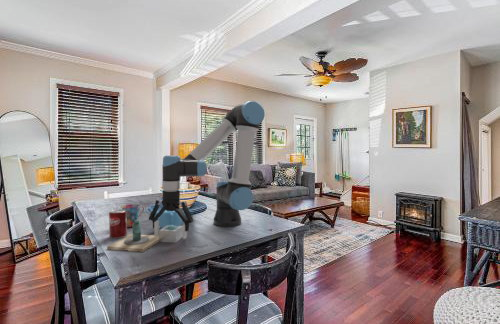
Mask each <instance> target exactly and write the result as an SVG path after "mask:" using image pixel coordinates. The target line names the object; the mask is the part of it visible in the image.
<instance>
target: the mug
mask: <svg viewBox="0 0 500 324" xmlns="http://www.w3.org/2000/svg"><path fill="white" fill-rule="evenodd" d="M141 208H142V210H141V212H140V214H139V211H140V209H141ZM121 209H123V210H126V212H127V228H132V224H134V220H139V223H140V224H141V221H140V218H139V217H140V216H142V214H143V212H144V209H145V207H144V206H142V205H141V204H139V203H134V204H133V203H132V204H131V203H130V204H124V205H122V206H121Z"/></svg>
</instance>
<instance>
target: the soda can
mask: <svg viewBox="0 0 500 324" xmlns="http://www.w3.org/2000/svg"><path fill="white" fill-rule="evenodd" d="M108 222H109V223H108V224H109V225H108V227H109V228H108V229H109V238H111V239H112V240H118V239H119V240H120V239H123V238H125V237H127V236H128V227H127V212H126V210H123V209H122V208H121V209H113V210H111V211H109V212H108Z"/></svg>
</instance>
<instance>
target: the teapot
mask: <svg viewBox="0 0 500 324" xmlns="http://www.w3.org/2000/svg"><path fill="white" fill-rule="evenodd" d="M187 207H188V206H187ZM189 209H190V206H189V207H188V210H189ZM158 212H159V211H157V212H156V214H155V216H156V215H157V214H158ZM183 213H184V212H183ZM184 215H185V213H184ZM155 216H154V217H155ZM185 216H186V215H185ZM158 221H159V228H160V229H162V228H164V227H165V226H167V225H173V226H183V220H182V219H181V218H180V216H179V215H178V214H177V213H176V212H175V211H167V210H165V211H164V212H163V214H162V215H161V216H160V217H159V218H158Z"/></svg>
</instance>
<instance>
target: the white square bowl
mask: <svg viewBox="0 0 500 324" xmlns="http://www.w3.org/2000/svg"><path fill="white" fill-rule="evenodd" d="M169 226H170V225H167V226H165V227H164V228H159V235H158V236H159V242H161V243H178V242H179V241H181V239H183V225H181V226H174V230H169ZM159 242H158V243H159Z"/></svg>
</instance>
